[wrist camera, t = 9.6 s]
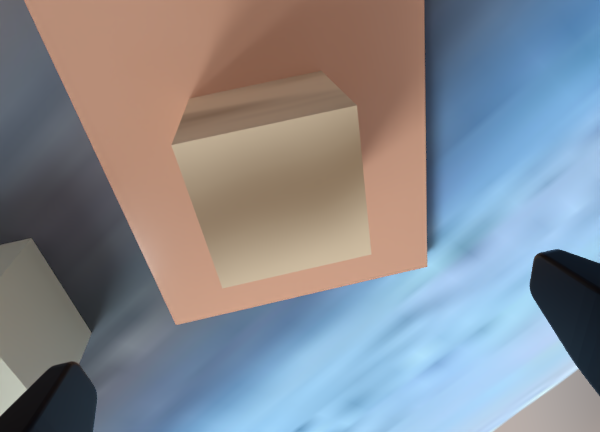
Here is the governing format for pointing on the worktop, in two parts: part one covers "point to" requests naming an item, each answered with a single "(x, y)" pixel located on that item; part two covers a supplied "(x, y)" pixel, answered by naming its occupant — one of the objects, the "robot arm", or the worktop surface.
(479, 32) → the worktop surface
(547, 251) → the robot arm
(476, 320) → the worktop surface
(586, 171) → the worktop surface
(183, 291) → the terracotta tile
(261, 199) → the beech block
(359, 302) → the worktop surface
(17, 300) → the sage block
